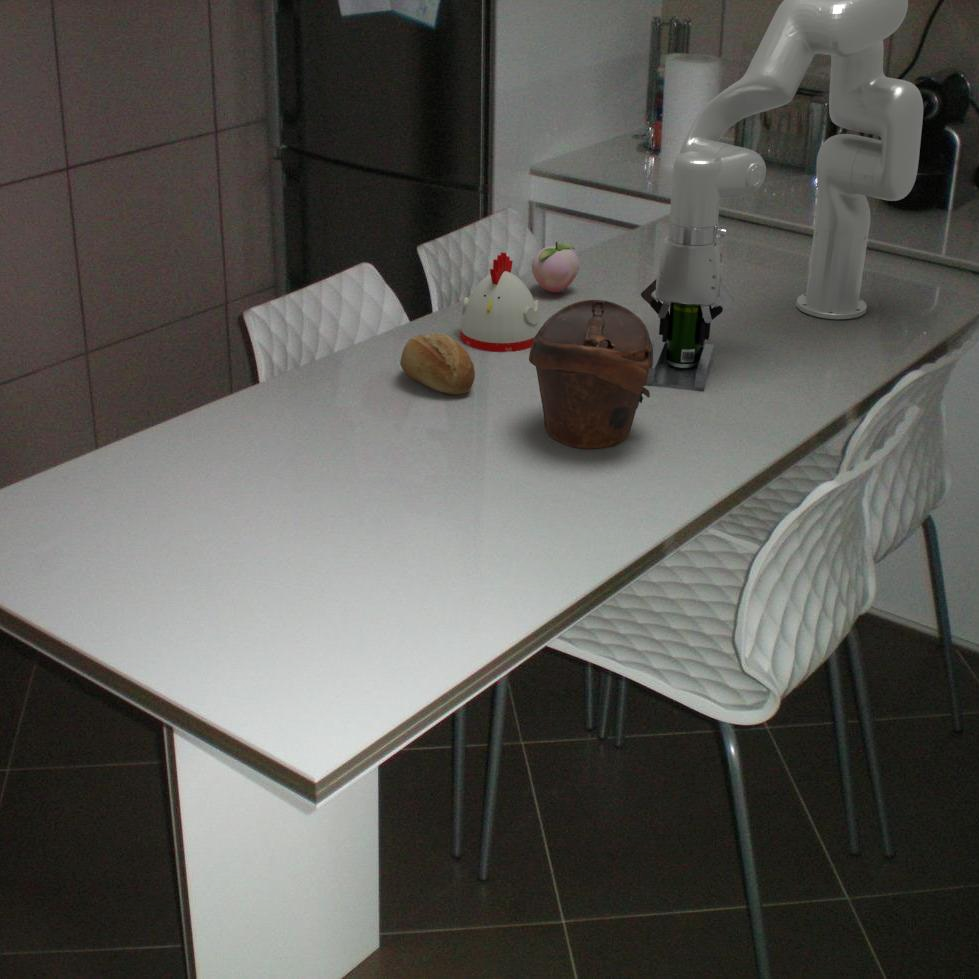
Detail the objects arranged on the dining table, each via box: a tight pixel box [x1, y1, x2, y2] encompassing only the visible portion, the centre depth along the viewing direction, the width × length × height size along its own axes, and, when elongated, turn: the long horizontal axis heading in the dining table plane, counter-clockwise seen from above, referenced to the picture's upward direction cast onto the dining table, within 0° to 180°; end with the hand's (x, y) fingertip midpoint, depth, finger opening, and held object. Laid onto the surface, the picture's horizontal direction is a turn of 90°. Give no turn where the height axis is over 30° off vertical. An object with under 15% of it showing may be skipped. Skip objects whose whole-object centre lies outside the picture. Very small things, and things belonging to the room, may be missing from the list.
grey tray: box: [646, 338, 715, 392], centre depth 225 cm, size 13×10×3 cm
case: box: [528, 299, 654, 450], centre depth 201 cm, size 18×20×18 cm
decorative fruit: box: [531, 241, 581, 294], centre depth 257 cm, size 9×8×10 cm
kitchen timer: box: [460, 252, 542, 353], centre depth 235 cm, size 14×14×15 cm
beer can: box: [666, 302, 703, 368], centre depth 224 cm, size 5×5×12 cm
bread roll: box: [399, 333, 476, 395], centre depth 218 cm, size 10×15×8 cm, turn 39°
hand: (683, 340), depth 225 cm, fingers closed on beer can, 5 cm apart
